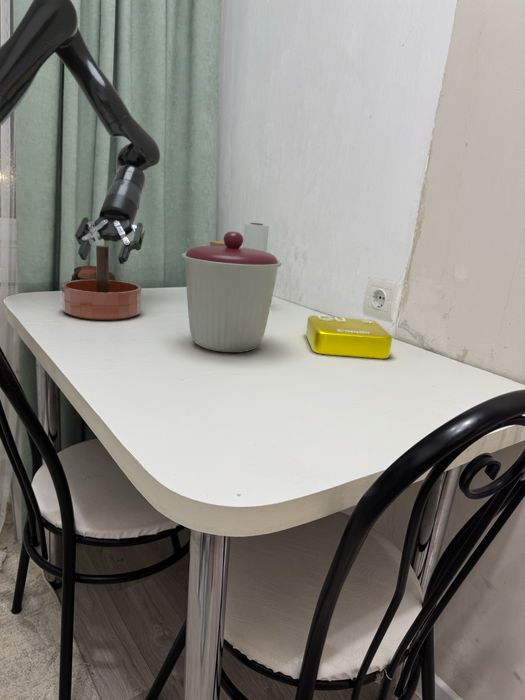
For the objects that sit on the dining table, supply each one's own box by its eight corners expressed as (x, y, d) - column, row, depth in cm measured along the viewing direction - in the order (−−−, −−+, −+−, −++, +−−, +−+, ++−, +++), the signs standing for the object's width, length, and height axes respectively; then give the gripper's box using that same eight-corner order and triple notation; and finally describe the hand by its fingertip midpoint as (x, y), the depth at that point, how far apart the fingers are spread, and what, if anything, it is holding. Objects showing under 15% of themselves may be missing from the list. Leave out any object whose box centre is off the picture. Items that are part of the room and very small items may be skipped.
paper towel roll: (248, 310, 129) (255, 224, 123) (233, 305, 133) (239, 221, 127) (269, 308, 133) (277, 225, 127) (254, 303, 138) (261, 223, 132)
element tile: (313, 354, 95) (316, 329, 94) (304, 334, 109) (307, 312, 108) (391, 360, 96) (395, 335, 94) (373, 339, 110) (376, 318, 109)
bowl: (48, 316, 105) (47, 287, 103) (83, 302, 121) (83, 277, 119) (125, 324, 104) (125, 295, 102) (150, 309, 120) (150, 284, 118)
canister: (280, 339, 103) (290, 234, 97) (264, 365, 86) (276, 239, 80) (194, 328, 106) (199, 225, 100) (163, 351, 88) (167, 228, 83)
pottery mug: (63, 297, 126) (63, 266, 128) (83, 307, 136) (82, 278, 137) (108, 289, 125) (107, 258, 126) (125, 300, 134) (123, 271, 136)
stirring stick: (87, 310, 110) (87, 245, 106) (96, 306, 115) (96, 244, 111) (108, 313, 110) (109, 248, 106) (117, 309, 114) (117, 246, 110)
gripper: (86, 189, 113) (63, 245, 106) (148, 195, 112) (129, 251, 105) (96, 213, 120) (75, 267, 112) (154, 219, 119) (137, 273, 111)
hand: (101, 259), depth 108 cm, fingers open, 8 cm apart
